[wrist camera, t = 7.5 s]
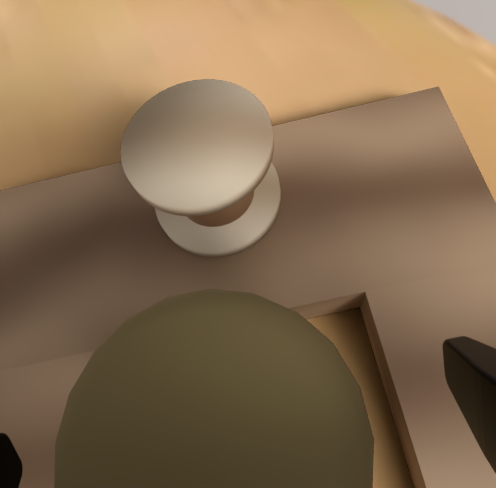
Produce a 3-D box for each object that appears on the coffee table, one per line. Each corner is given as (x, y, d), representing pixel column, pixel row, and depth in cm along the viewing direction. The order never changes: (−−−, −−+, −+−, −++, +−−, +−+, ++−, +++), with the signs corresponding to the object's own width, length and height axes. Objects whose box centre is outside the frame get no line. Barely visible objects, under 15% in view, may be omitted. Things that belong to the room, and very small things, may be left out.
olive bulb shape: (250, 584, 14) (106, 912, 4) (155, 422, 17) (-79, 397, 7) (391, 460, 15) (537, 499, 5) (281, 323, 18) (237, 172, 8)
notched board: (608, 513, 14) (798, 559, 8) (-3, 628, 15) (-187, 737, 9) (427, 117, 21) (468, 1, 15) (16, 214, 22) (-84, 137, 16)
